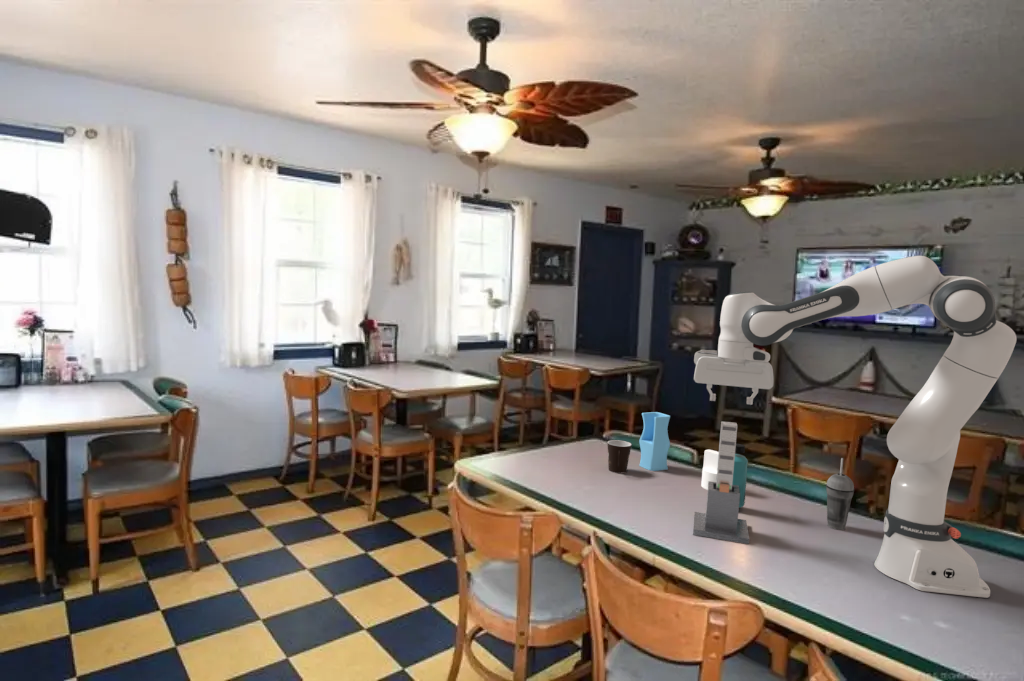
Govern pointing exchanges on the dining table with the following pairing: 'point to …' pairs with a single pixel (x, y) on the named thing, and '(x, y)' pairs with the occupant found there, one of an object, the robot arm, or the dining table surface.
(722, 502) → the stand
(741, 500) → the beverage bottle
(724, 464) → the column
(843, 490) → the beverage cup
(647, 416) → the vase
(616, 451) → the coffee mug
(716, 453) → the white cylinder
